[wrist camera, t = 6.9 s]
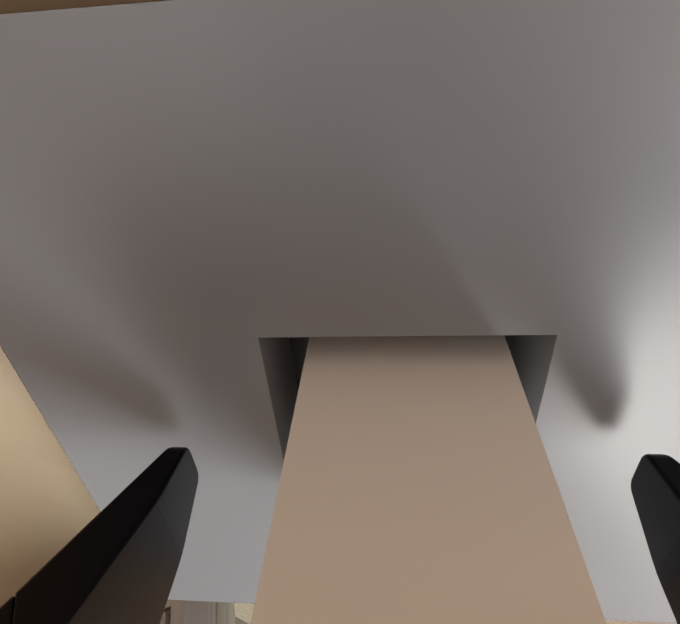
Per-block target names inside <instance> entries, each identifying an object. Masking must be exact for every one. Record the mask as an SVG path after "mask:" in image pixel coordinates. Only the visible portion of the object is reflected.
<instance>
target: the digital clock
mask: <svg viewBox="0 0 680 624" xmlns="http://www.w3.org/2000/svg"><path fill="white" fill-rule="evenodd" d="M160 624H247V623H246V622H244V621H242V620H240V619H238V618H236V617H235V613H234V603H229V602H208V601H186V600H167V603H166V606H165V609H164V613H163V616H162V619H161V622H160Z"/></svg>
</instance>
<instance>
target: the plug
mask: <svg viewBox="0 0 680 624" xmlns="http://www.w3.org/2000/svg"><path fill="white" fill-rule="evenodd" d="M251 624H606V621H605V618H604V615H603V612H602V610H601V607H600V604H599V601H598V598H597V596H596V593H595V590H594V587H593V584H592V581H591V579H590V576H589V573H588V570H587V567H586V564H585V562H584V559H583V556H582V553H581V550H580V548H579V545H578V542H577V539H576V536H575V533H574V531H573V528H572V525H571V522H570V519H569V516H568V514H567V511H566V508H565V505H564V502H563V500H562V497H561V494H560V491H559V488H558V485H557V483H556V480H555V477H554V474H553V471H552V468H551V466H550V463H549V460H548V457H547V454H546V452H545V449H544V446H543V443H542V440H541V437H540V435H539V432H538V429H537V426H536V423H535V420H534V418H533V415H532V412H531V409H530V406H529V404H528V401H527V398H526V395H525V392H524V389H523V387H522V384H521V381H520V378H519V375H518V372H517V370H516V367H515V364H514V361H513V358H512V356H511V353H510V350H509V347H508V344H507V341H506V339H505V336H504V335H484V336H376V337H309V341H308V346H307V351H306V356H305V360H304V365H303V370H302V375H301V380H300V385H299V390H298V395H297V399H296V404H295V409H294V414H293V419H292V424H291V429H290V434H289V438H288V443H287V448H286V453H285V458H284V463H283V468H282V473H281V477H280V482H279V487H278V492H277V497H276V502H275V507H274V512H273V516H272V521H271V526H270V531H269V536H268V541H267V546H266V551H265V555H264V560H263V565H262V570H261V575H260V580H259V585H258V590H257V594H256V599H255V604H254V609H253V614H252V619H251Z"/></svg>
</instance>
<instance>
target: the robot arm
mask: <svg viewBox="0 0 680 624" xmlns="http://www.w3.org/2000/svg"><path fill="white" fill-rule="evenodd" d="M197 485H198V470H197V467H196V465H195V462H194V459H193V457H192V454H191V452H190V450H189V449H188V448H186V447H170V448H168V449H166V450H165V451H164V452H163V453H162V454H161V455H160V456H159V457H158V458H156V459H155V460H154V461H153V462H152V463H151V464H150V465H149V466H148V467H147V468H146V469H145V470H144V471H143V472H142V473H141V474H140V475H139V476H138V477H137V478H136V479H134V480H133V481H132V482H131V483H130V484H129V485H128V486H127V487H126V488H125V489H124V490H123V491H122V492H121V493H120V494H119V495H118V496H117V497H116V498H115V499H114V500H113V501H111V502H110V503H109V504H108V505H107V506H106V507H105V508H104V509H103V510H102V511H101V512H100V513H99V514H98V515H97V516H96V517H95V518H94V519H93V520H92V521H91V522H89V523H88V524H87V525H86V526H85V527H84V528H83V529H82V530H81V531H80V532H79V533H78V534H77V535H76V536H75V537H74V538H73V539H72V540H71V541H70V542H69V543H67V544H66V545H65V546H64V547H63V548H62V549H61V550H60V551H59V552H58V553H57V554H56V555H55V556H54V557H53V558H52V559H51V560H50V561H49V562H48V563H47V564H46V565H44V566H43V567H42V568H41V569H40V570H39V571H38V572H37V573H36V574H35V575H34V576H33V577H32V578H31V579H30V580H29V581H28V582H27V583H26V584H25V585H24V586H22V587H21V588H20V589H19V590H18V591H17V592H16V594H15V596H13V597H11V598H10V599H9V600H8V601H7V602H6V603H4V604H3V605H2V606H1V607H0V624H160V622H161V619H162V616H163V613H164V609H165V606H166V603H167V600H168V597H169V594H170V591H171V588H172V585H173V582H174V579H175V576H176V573H177V570H178V567H179V564H180V560H181V557H182V553H183V549H184V545H185V541H186V536H187V531H188V527H189V522H190V518H191V513H192V508H193V504H194V499H195V494H196V490H197ZM631 492H632V495H633V499H634V502H635V505H636V509H637V512H638V515H639V519H640V522H641V525H642V528H643V532H644V535H645V538H646V542H647V545H648V548H649V552H650V555H651V558H652V561H653V564H654V567H655V570H656V573H657V576H658V578H659V581H660V583H661V586H662V588H663V591H664V593H665V595H666V598H667V600H668V602H669V605H670V607H671V610H672V612H673V614H674V617H675V619H676V621H677V624H680V463H679V462H677V461H676V460H675V459H674V458H672V457H670V456H668V455H665V454H645V455H644V456H642V458H641V459H640V462H639V464H638V466H637V468H636V470H635V473H634V475H633V477H632V480H631Z"/></svg>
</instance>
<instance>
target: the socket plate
mask: <svg viewBox="0 0 680 624" xmlns="http://www.w3.org/2000/svg"><path fill="white" fill-rule="evenodd" d="M484 335H504V336H505V339H506V341H507V344H508V347H509V350H510V353H511V356H512V358H513V361H514V364H515V367H516V370H517V372H518V375H519V378H520V381H521V384H522V387H523V389H524V392H525V395H526V398H527V401H528V404H529V406H530V409H531V412H532V415H533V418H534V420H535V423H536V426H537V429H538V432H539V435H540V437H541V440H542V443H543V446H544V449H545V452H546V454H547V457H548V460H549V463H550V466H551V468H552V471H553V474H554V477H555V480H556V483H557V485H558V488H559V491H560V494H561V497H562V500H563V502H564V505H565V508H566V511H567V514H568V516H569V519H570V522H571V525H572V528H573V531H574V533H575V536H576V539H577V542H578V545H579V548H580V550H581V553H582V556H583V559H584V562H585V564H586V567H587V570H588V573H589V576H590V579H591V581H592V584H593V587H594V590H595V593H596V596H597V598H598V601H599V604H600V607H601V610H602V612H603V615H604V618H605V620H614V621H636V622H657V623H675V622H676V619H675V617H674V614H673V612H672V610H671V607H670V605H669V602H668V600H667V598H666V595H665V593H664V591H663V588H662V586H661V583H660V581H659V578H658V576H657V573H656V570H655V567H654V564H653V561H652V558H651V555H650V552H649V548H648V545H647V542H646V538H645V535H644V532H643V528H642V525H641V522H640V519H639V515H638V512H637V509H636V505H635V502H634V499H633V495H632V492H631V480H632V477H633V475H634V473H635V470H636V468H637V466H638V464H639V462H640V459H641V458H642V456H644V455H645V454H665V455H668V456H670V457H672V458H674V459H675V460H676V461H677V462H679V463H680V0H169V1H157V2H144V3H132V4H120V5H108V6H95V7H83V8H71V9H59V10H46V11H34V12H22V13H10V14H0V346H1V348H2V349H3V351H4V353H5V354H6V356H7V358H8V359H9V361H10V363H11V364H12V366H13V368H14V369H15V371H16V373H17V374H18V376H19V378H20V379H21V381H22V383H23V384H24V386H25V387H26V389H27V391H28V392H29V394H30V396H31V397H32V399H33V401H34V402H35V404H36V406H37V407H38V409H39V411H40V412H41V414H42V416H43V417H44V419H45V421H46V422H47V424H48V426H49V427H50V429H51V431H52V432H53V434H54V435H55V437H56V439H57V440H58V442H59V444H60V445H61V447H62V449H63V450H64V452H65V454H66V455H67V457H68V459H69V460H70V462H71V464H72V465H73V467H74V469H75V470H76V472H77V474H78V475H79V477H80V479H81V480H82V482H83V484H84V485H85V487H86V488H87V490H88V492H89V493H90V495H91V497H92V498H93V500H94V502H95V503H96V505H97V507H98V508H99V510H100V512H101V511H102V510H103V509H104V508H105V507H106V506H107V505H108V504H109V503H110V502H111V501H113V500H114V499H115V498H116V497H117V496H118V495H119V494H120V493H121V492H122V491H123V490H124V489H125V488H126V487H127V486H128V485H129V484H130V483H131V482H132V481H133V480H134V479H136V478H137V477H138V476H139V475H140V474H141V473H142V472H143V471H144V470H145V469H146V468H147V467H148V466H149V465H150V464H151V463H152V462H153V461H154V460H155V459H156V458H158V457H159V456H160V455H161V454H162V453H163V452H164V451H165V450H166V449H168V448H170V447H186V448H188V449H189V450H190V452H191V454H192V457H193V459H194V462H195V465H196V467H197V470H198V485H197V490H196V494H195V499H194V504H193V508H192V513H191V518H190V522H189V527H188V531H187V536H186V541H185V545H184V549H183V553H182V557H181V560H180V564H179V567H178V570H177V573H176V576H175V579H174V582H173V585H172V588H171V591H170V594H169V597H168V600H186V601H208V602H229V603H250V604H255V599H256V594H257V590H258V585H259V580H260V575H261V570H262V565H263V560H264V555H265V551H266V546H267V541H268V536H269V531H270V526H271V521H272V516H273V512H274V507H275V502H276V497H277V492H278V487H279V482H280V477H281V473H282V468H283V463H284V458H285V453H286V448H287V443H288V438H289V434H290V429H291V424H292V419H293V414H294V409H295V404H296V399H297V395H298V390H299V385H300V380H301V375H302V370H303V365H304V360H305V356H306V351H307V346H308V341H309V337H376V336H484Z"/></svg>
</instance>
